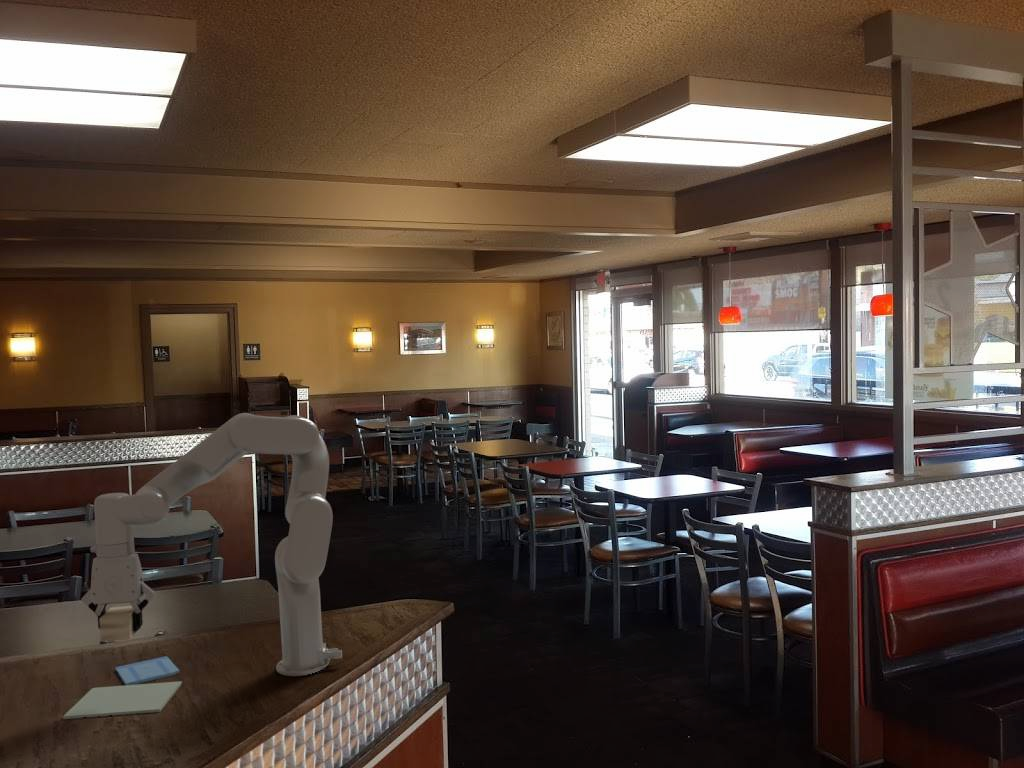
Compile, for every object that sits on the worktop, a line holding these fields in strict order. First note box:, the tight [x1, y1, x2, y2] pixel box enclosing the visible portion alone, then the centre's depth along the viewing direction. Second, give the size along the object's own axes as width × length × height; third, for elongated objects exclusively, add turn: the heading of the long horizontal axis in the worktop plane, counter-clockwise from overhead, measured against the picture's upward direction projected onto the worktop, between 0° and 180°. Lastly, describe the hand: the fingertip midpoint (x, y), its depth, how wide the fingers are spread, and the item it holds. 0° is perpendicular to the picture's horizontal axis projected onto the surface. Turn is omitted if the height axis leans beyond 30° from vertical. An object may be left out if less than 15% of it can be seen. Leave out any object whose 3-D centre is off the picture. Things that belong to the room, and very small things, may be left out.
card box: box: [99, 605, 138, 643], centre depth 198 cm, size 9×6×5 cm, turn 9°
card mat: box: [62, 680, 183, 720], centre depth 199 cm, size 20×16×1 cm
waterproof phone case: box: [115, 655, 180, 686], centre depth 217 cm, size 14×12×1 cm
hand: (120, 630), depth 198 cm, fingers closed on card box, 6 cm apart
